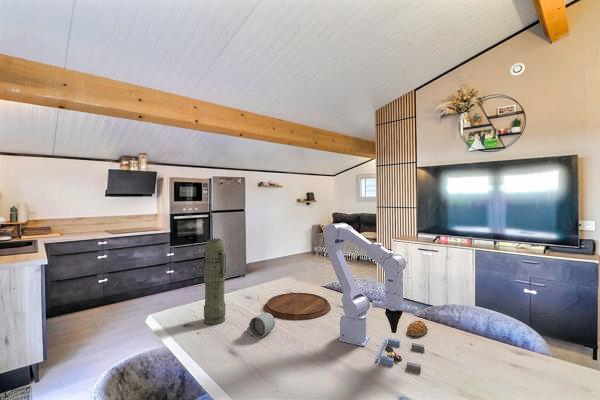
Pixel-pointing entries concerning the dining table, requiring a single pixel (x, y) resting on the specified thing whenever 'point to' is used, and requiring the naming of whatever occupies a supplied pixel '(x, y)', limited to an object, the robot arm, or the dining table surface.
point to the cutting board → (297, 306)
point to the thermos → (214, 282)
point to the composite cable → (393, 354)
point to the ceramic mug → (261, 325)
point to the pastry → (417, 328)
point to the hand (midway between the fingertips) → (394, 331)
